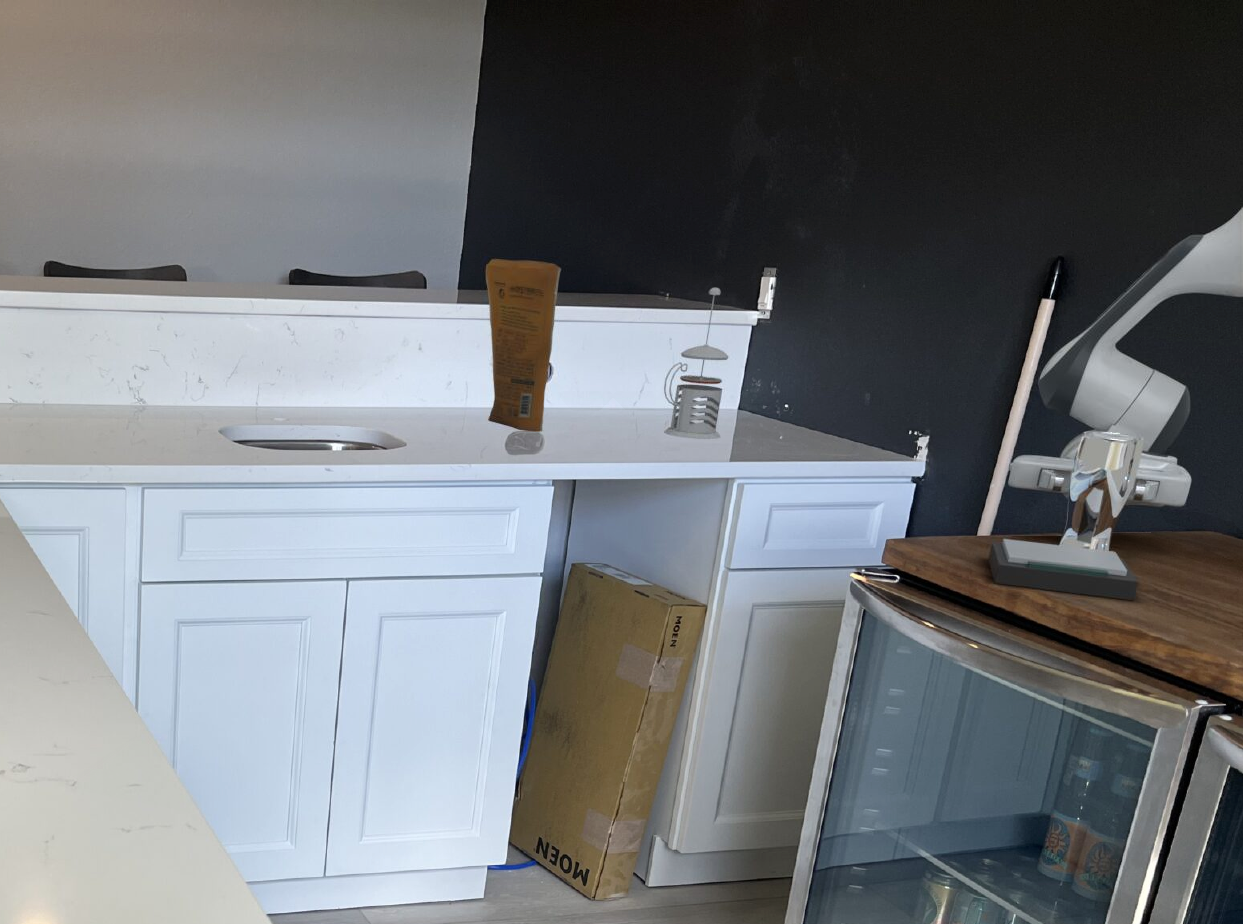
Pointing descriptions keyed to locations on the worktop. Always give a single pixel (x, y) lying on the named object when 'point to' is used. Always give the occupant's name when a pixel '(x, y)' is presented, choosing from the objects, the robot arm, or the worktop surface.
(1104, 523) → the beer glass
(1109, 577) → the kitchen scale
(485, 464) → the worktop surface
